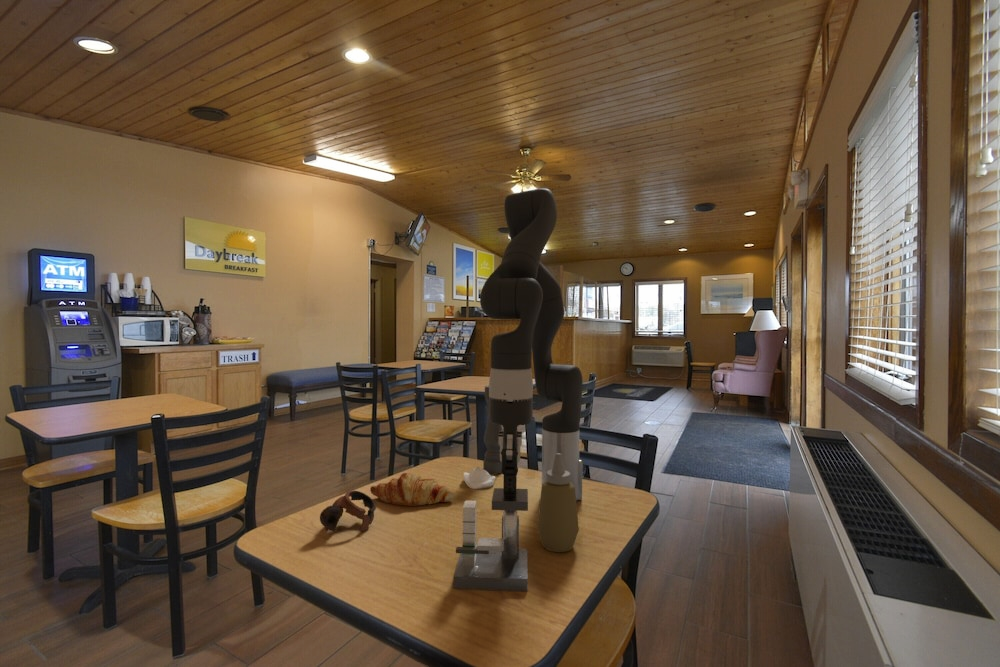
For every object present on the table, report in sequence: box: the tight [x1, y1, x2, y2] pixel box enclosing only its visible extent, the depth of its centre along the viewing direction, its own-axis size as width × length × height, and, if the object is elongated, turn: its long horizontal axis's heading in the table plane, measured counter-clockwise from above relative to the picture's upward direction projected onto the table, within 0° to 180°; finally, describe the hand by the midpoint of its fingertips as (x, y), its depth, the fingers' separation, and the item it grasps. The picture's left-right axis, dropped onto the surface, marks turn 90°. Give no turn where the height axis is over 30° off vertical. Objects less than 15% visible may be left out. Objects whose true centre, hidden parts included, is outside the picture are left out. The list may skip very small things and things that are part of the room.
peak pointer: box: [455, 546, 489, 554], centre depth 77 cm, size 6×1×1 cm, turn 87°
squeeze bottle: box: [537, 453, 580, 553], centre depth 90 cm, size 8×8×18 cm
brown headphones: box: [319, 490, 377, 532], centre depth 97 cm, size 12×10×8 cm
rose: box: [462, 467, 497, 490], centre depth 125 cm, size 10×4×10 cm
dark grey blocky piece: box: [476, 487, 529, 556], centre depth 79 cm, size 8×6×10 cm
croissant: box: [370, 472, 455, 507], centre depth 113 cm, size 21×10×8 cm, turn 86°
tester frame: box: [453, 500, 529, 592], centre depth 79 cm, size 12×10×12 cm
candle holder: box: [482, 384, 503, 475], centre depth 136 cm, size 6×6×25 cm
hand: (509, 494), depth 79 cm, fingers closed
